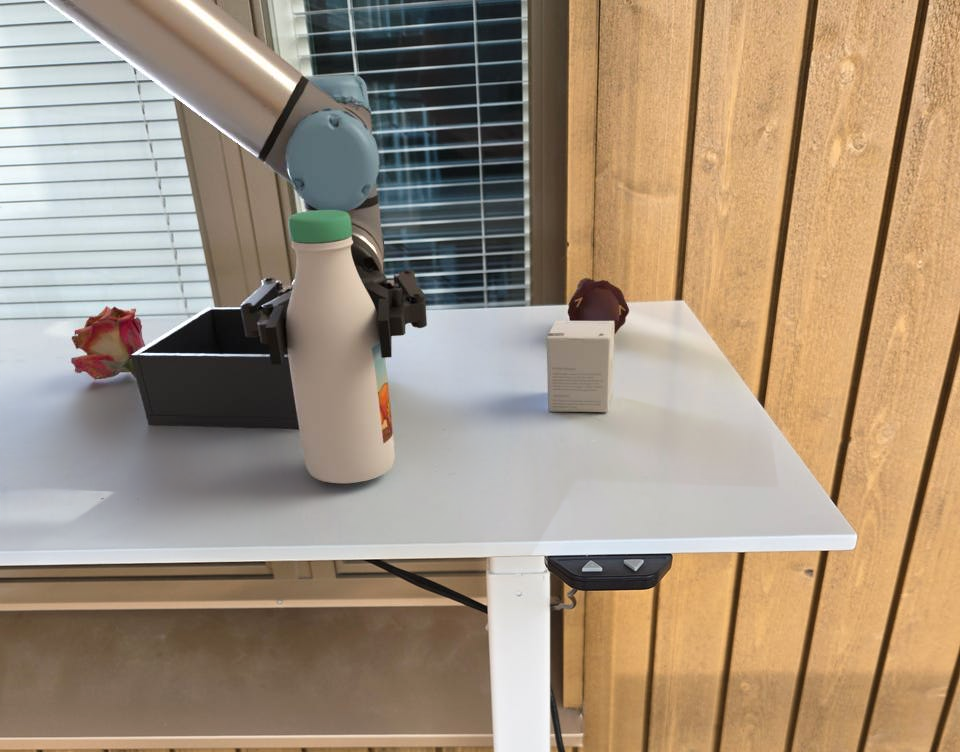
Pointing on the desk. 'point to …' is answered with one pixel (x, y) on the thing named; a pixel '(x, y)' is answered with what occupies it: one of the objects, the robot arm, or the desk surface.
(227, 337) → the black open box
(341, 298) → the milk bottle
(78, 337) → the flower
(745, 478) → the desk surface
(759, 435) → the desk surface
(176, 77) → the robot arm
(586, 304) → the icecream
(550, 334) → the white cardboard box
